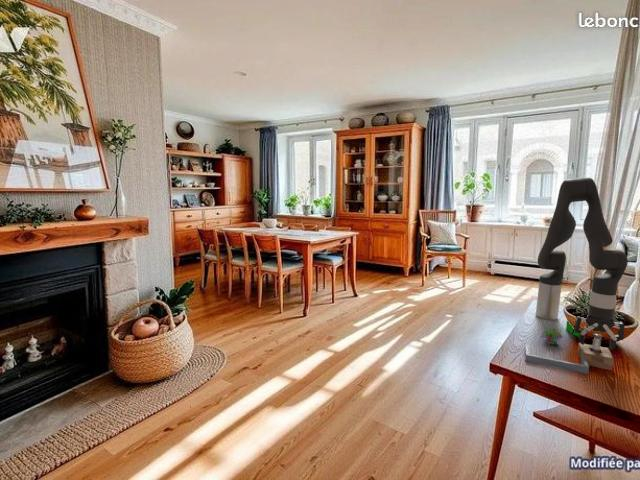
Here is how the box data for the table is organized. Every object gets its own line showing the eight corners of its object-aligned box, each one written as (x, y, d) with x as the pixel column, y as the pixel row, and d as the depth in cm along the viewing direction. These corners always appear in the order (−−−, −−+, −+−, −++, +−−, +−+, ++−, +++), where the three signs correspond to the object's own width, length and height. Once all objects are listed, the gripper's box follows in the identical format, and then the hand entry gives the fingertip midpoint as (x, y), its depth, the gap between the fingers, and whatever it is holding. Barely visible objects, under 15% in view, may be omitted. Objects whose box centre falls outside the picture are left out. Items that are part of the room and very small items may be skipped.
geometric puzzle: (554, 346, 141) (561, 327, 142) (536, 339, 146) (543, 322, 148) (559, 352, 145) (566, 334, 146) (541, 345, 150) (548, 328, 152)
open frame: (524, 349, 143) (525, 343, 142) (582, 360, 134) (583, 354, 133) (525, 361, 133) (526, 354, 133) (588, 373, 125) (589, 367, 124)
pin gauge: (588, 359, 135) (592, 332, 133) (598, 360, 134) (601, 334, 132) (590, 362, 132) (593, 335, 131) (599, 364, 131) (603, 337, 129)
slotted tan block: (577, 353, 139) (578, 342, 138) (606, 359, 135) (607, 347, 134) (581, 364, 131) (582, 352, 130) (612, 370, 127) (613, 358, 126)
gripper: (624, 304, 129) (617, 346, 132) (576, 298, 136) (571, 338, 139) (630, 311, 123) (623, 355, 125) (579, 304, 129) (574, 346, 132)
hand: (596, 346), depth 132 cm, fingers open, 8 cm apart
